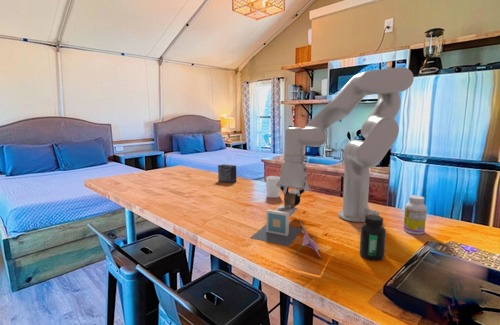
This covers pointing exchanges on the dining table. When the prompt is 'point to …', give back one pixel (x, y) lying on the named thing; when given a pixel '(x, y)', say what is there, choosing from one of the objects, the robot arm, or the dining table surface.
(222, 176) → the small box
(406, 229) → the supplement bottle
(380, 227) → the supplement bottle
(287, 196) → the brown and grey block
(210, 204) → the dining table surface
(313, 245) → the lily
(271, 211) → the tile
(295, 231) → the mat
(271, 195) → the white cup
